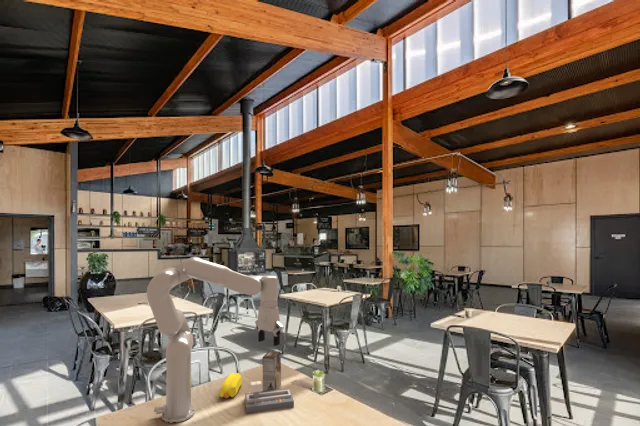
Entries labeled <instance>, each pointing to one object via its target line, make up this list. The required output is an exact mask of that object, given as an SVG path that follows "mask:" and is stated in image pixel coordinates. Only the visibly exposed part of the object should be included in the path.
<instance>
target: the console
mask: <svg viewBox="0 0 640 426" xmlns="http://www.w3.org/2000/svg"><path fill="white" fill-rule="evenodd" d="M292 395H293V394H292V391H291V390H290V388H289V387H288V388H278V389H277V390H270V391H263V390H262V391H261V392H259V398H255V399H253V393H251V392H248V393H247V392H246V393H244V401H245V414H249V413H250V414H251V413H257V412H265V411H273V410H280V409H281V410H282V409H288V408H294V407H295V400H294V398H293V396H292Z"/></svg>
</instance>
